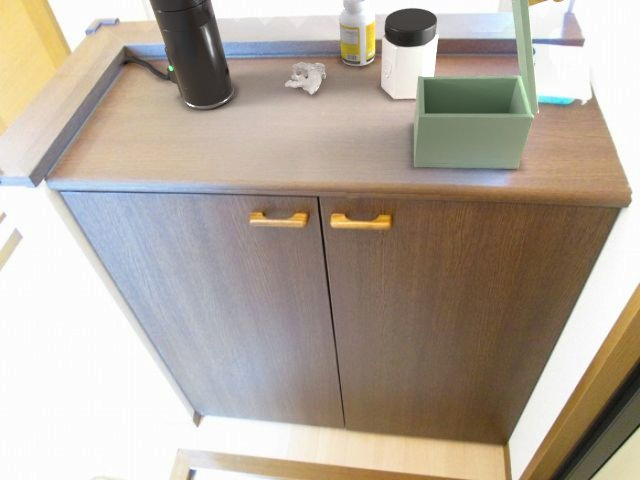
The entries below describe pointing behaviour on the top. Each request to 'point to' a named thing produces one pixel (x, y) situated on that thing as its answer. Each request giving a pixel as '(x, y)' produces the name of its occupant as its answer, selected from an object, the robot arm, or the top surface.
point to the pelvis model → (314, 76)
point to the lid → (526, 48)
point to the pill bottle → (357, 32)
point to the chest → (471, 121)
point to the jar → (408, 51)
